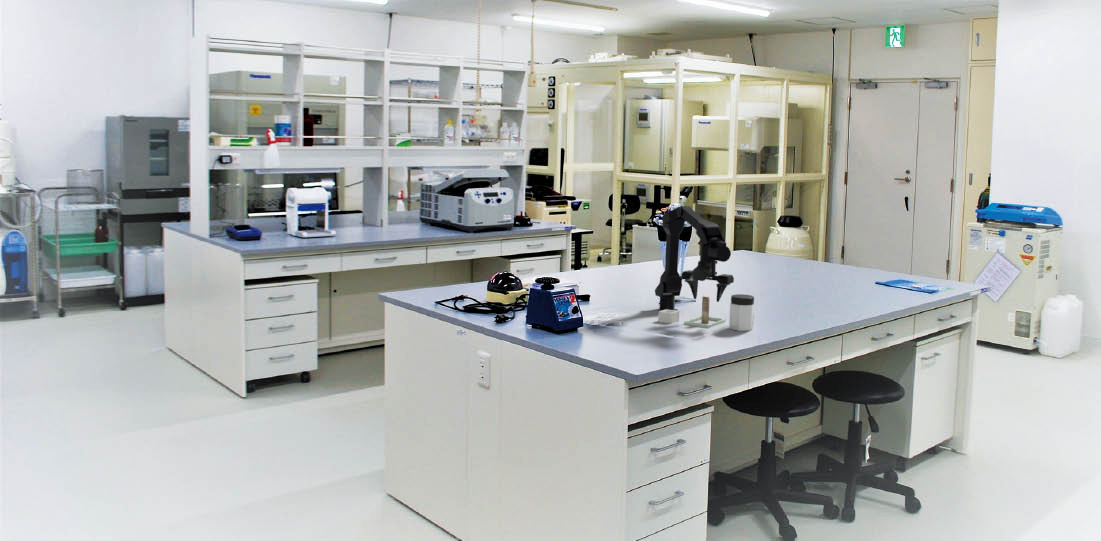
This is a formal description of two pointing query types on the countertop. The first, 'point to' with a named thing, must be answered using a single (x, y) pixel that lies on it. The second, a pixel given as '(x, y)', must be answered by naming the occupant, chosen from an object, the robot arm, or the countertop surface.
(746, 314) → the jar
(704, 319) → the dowel
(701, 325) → the tray
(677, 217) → the robot arm
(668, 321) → the white square tube
